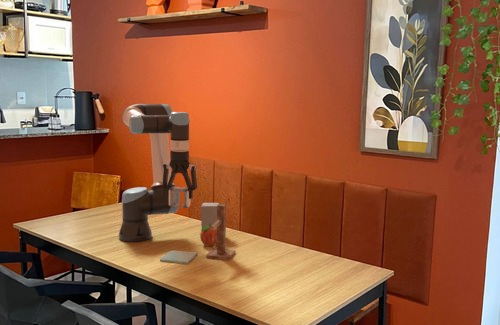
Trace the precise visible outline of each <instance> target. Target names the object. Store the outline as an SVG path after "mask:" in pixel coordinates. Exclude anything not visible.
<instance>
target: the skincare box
mask: <svg viewBox="0 0 500 325" xmlns="http://www.w3.org/2000/svg"><path fill="white" fill-rule="evenodd" d="M219 204H220V203H219V202H202V204H201V205H200V218H201V219H200V222H201V229H202V228H203V227H206V226H209V224H210V225H213V224H214V223H215V222H216V221H217V205H219ZM216 229H217V228H216Z"/></svg>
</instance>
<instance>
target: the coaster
mask: <svg viewBox="0 0 500 325" xmlns="http://www.w3.org/2000/svg"><path fill="white" fill-rule="evenodd" d="M196 256H198V252H193V251H184V250H183V251H182V250H172V249H171V250H170V251H168V252H166V253H165V254H164V255H163V256H162V257H160V258H159V261H160V262H165V263H174V264H185V265H188V264H189V263H190V262H191V261H192V260H193V259H194V258H196Z"/></svg>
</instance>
